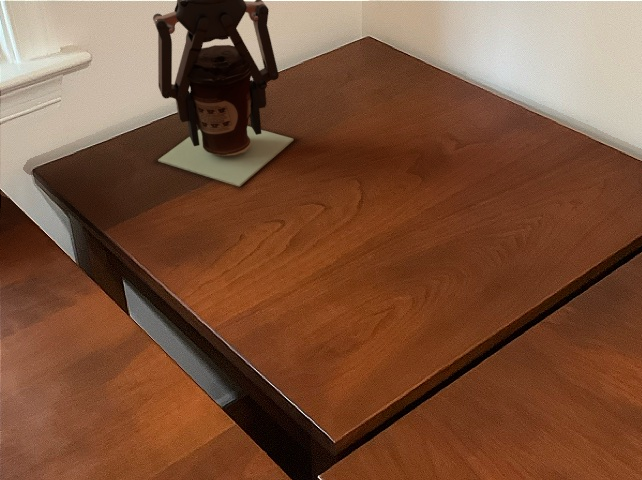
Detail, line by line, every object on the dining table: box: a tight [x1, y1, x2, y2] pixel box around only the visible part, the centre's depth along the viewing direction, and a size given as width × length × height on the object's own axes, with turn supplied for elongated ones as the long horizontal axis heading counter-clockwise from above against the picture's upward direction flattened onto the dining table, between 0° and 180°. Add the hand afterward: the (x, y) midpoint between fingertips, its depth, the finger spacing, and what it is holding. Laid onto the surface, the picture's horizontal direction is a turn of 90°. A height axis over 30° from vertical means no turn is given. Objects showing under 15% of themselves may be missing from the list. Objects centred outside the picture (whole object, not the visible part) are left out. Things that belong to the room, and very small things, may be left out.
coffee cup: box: [187, 44, 252, 156], centre depth 105 cm, size 9×8×13 cm
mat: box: [157, 125, 294, 187], centre depth 110 cm, size 13×13×1 cm
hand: (225, 134), depth 108 cm, fingers closed on coffee cup, 8 cm apart
